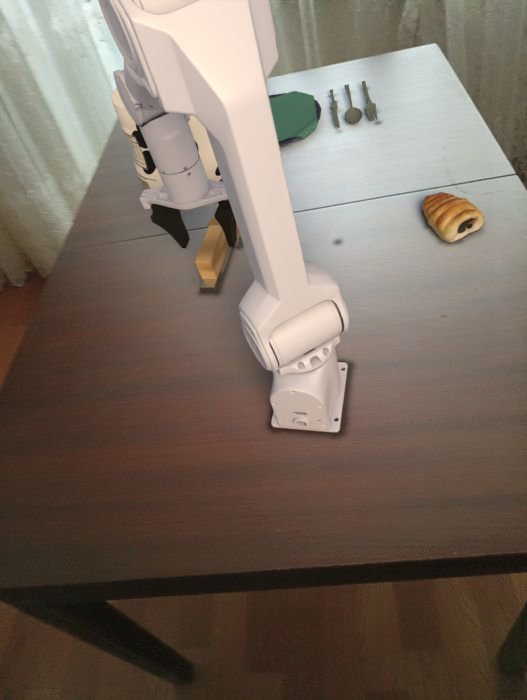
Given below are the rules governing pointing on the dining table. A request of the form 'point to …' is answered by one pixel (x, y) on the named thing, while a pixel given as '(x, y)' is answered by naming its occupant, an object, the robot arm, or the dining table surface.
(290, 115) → the cutlery set
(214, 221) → the disc with handle bar
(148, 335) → the dining table surface
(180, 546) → the dining table surface
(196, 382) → the dining table surface
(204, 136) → the milk container
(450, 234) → the pastry
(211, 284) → the grey-brown pronged block
